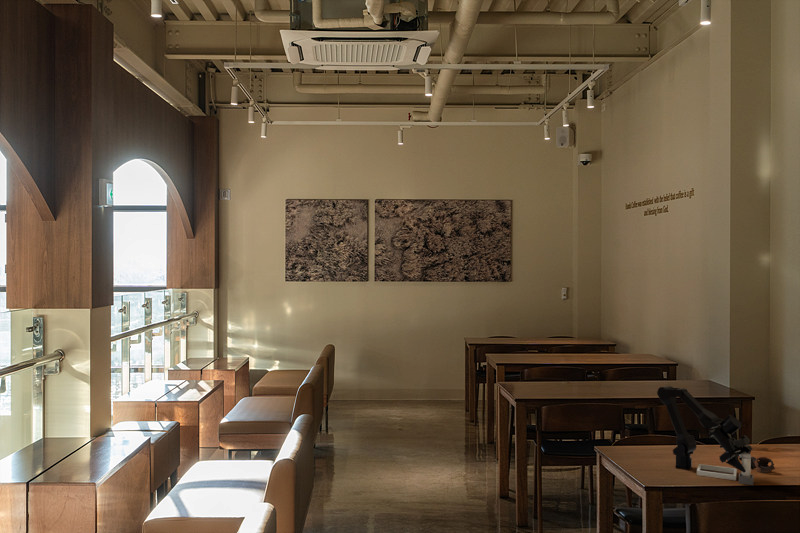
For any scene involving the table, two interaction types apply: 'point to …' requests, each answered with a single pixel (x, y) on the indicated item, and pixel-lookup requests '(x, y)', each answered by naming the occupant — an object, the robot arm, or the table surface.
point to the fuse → (746, 464)
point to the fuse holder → (745, 480)
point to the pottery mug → (762, 464)
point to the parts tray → (717, 468)
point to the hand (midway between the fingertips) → (749, 470)
